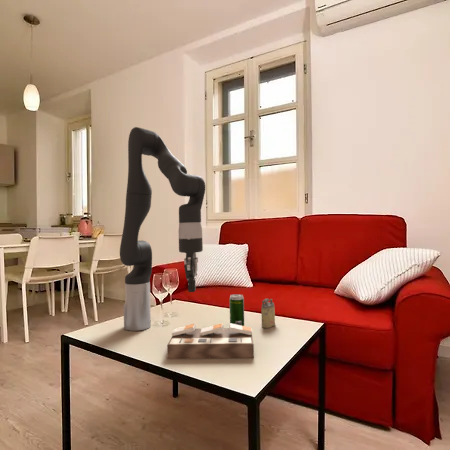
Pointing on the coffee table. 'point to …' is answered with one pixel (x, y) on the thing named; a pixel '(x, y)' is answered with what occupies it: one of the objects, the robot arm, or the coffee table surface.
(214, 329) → the rocker middle
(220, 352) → the switch console
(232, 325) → the rocker right
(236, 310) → the beer can
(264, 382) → the coffee table surface
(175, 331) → the rocker left
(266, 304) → the lighter
